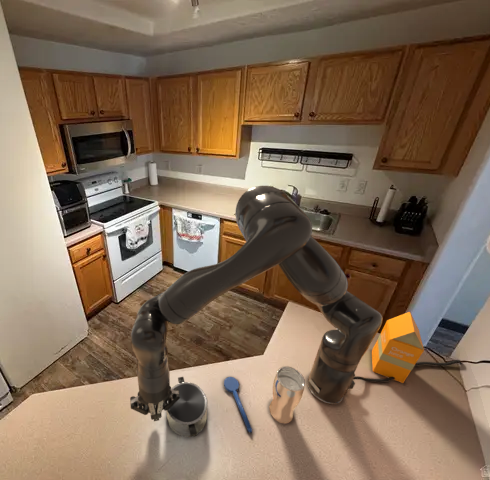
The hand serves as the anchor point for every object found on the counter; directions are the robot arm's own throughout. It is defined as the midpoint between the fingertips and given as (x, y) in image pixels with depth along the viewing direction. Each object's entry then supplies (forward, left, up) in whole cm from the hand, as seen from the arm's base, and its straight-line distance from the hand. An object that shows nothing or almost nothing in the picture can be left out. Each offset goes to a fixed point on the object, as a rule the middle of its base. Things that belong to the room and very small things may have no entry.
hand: (156, 417), depth 69 cm
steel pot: (-8, 0, -2) cm, 9 cm away
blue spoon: (-24, 0, -2) cm, 24 cm away
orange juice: (-74, 0, -2) cm, 74 cm away
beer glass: (-34, +5, -2) cm, 34 cm away
